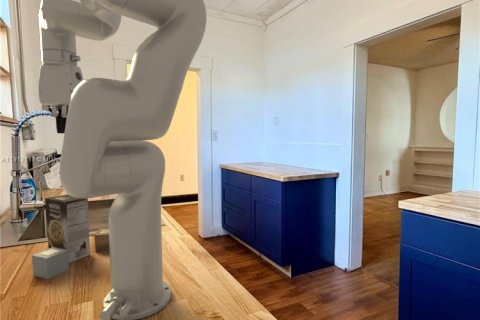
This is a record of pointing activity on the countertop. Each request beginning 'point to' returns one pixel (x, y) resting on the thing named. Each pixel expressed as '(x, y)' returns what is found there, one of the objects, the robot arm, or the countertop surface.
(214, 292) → the countertop surface
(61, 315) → the countertop surface
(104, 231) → the walnut block
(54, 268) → the slate block
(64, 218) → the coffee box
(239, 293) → the countertop surface
